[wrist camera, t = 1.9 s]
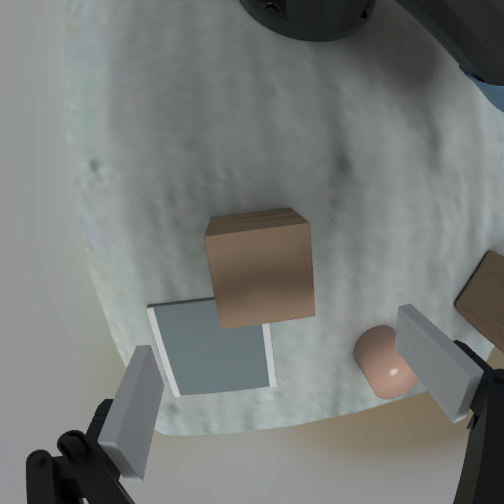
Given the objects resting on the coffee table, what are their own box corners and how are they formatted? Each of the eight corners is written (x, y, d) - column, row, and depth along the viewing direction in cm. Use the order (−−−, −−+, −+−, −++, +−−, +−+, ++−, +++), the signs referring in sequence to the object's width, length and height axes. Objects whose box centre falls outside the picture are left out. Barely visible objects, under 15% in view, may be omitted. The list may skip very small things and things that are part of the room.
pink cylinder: (354, 331, 36) (376, 363, 29) (399, 320, 36) (426, 349, 29) (352, 371, 38) (370, 405, 31) (394, 360, 38) (416, 390, 31)
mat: (148, 305, 33) (146, 308, 32) (265, 290, 33) (266, 294, 32) (175, 392, 37) (174, 396, 36) (275, 382, 37) (276, 386, 36)
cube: (210, 218, 31) (204, 236, 23) (290, 207, 31) (309, 222, 23) (222, 291, 33) (220, 329, 25) (296, 281, 33) (314, 315, 26)
